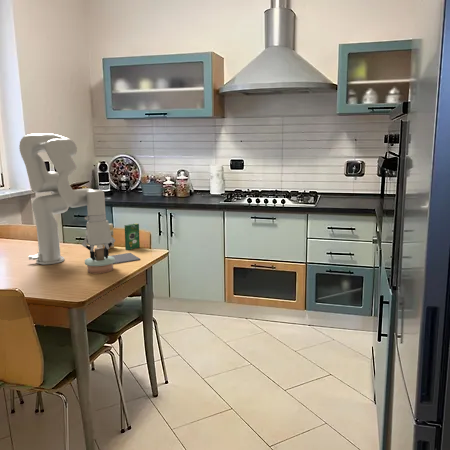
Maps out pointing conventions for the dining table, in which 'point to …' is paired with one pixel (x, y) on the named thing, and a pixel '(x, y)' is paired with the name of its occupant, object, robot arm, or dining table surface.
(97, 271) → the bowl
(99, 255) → the lid
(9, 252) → the dining table surface
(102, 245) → the supplement box
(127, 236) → the coffee box
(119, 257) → the mat
